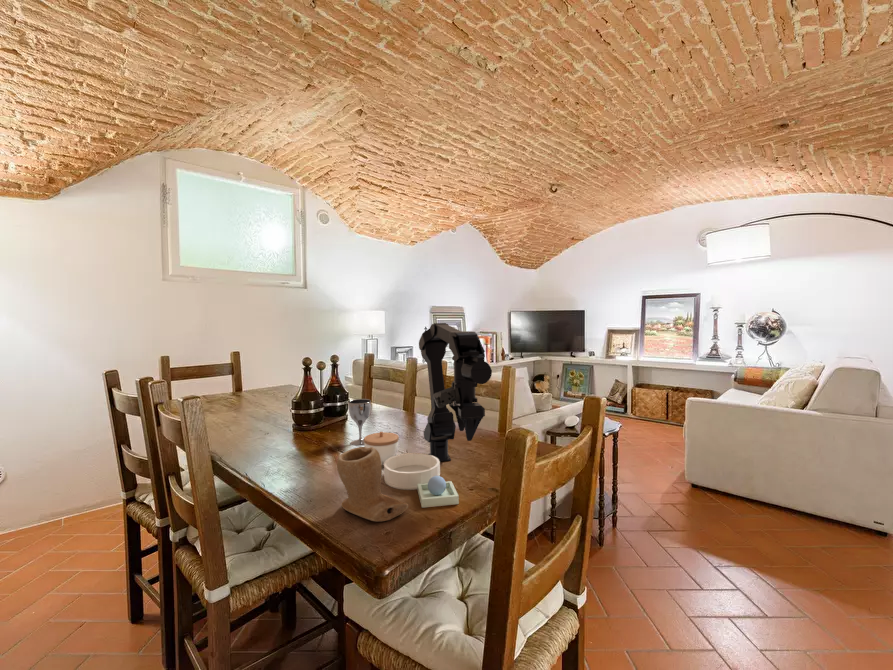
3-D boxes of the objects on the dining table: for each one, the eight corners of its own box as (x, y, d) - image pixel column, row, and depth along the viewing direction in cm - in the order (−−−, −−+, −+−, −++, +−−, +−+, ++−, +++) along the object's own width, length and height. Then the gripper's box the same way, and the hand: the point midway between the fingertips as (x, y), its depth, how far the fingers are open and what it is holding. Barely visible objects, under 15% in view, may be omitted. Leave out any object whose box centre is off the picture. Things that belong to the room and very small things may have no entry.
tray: (417, 491, 108) (417, 484, 108) (451, 488, 109) (451, 481, 109) (421, 507, 99) (421, 499, 99) (458, 504, 100) (458, 495, 100)
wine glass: (373, 444, 147) (372, 402, 146) (351, 447, 144) (349, 404, 143) (369, 437, 154) (368, 398, 153) (347, 440, 151) (346, 399, 150)
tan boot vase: (327, 512, 97) (326, 449, 96) (368, 495, 106) (367, 437, 105) (368, 535, 87) (367, 465, 86) (409, 513, 96) (408, 450, 95)
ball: (444, 489, 107) (444, 472, 107) (447, 497, 102) (447, 479, 102) (426, 491, 106) (426, 473, 106) (429, 499, 101) (429, 480, 101)
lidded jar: (404, 457, 133) (403, 428, 133) (390, 469, 123) (390, 438, 123) (373, 454, 136) (373, 426, 136) (358, 466, 126) (357, 435, 125)
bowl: (383, 470, 123) (383, 455, 122) (435, 466, 125) (434, 451, 125) (385, 492, 107) (385, 475, 107) (444, 487, 110) (443, 470, 110)
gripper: (430, 374, 119) (430, 428, 120) (441, 385, 101) (441, 448, 102) (467, 372, 121) (468, 425, 122) (485, 383, 103) (485, 445, 104)
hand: (465, 435), depth 112 cm, fingers open, 9 cm apart
